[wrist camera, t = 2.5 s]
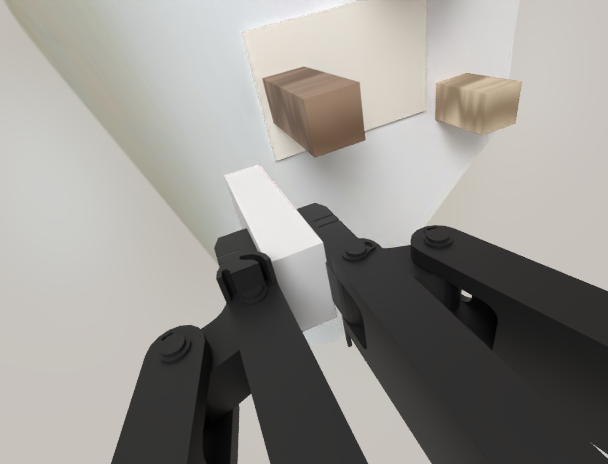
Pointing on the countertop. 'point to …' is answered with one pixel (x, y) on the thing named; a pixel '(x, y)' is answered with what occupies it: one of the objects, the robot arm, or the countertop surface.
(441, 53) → the countertop surface
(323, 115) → the walnut block
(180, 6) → the countertop surface
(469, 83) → the beech block
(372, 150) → the countertop surface
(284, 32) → the board
